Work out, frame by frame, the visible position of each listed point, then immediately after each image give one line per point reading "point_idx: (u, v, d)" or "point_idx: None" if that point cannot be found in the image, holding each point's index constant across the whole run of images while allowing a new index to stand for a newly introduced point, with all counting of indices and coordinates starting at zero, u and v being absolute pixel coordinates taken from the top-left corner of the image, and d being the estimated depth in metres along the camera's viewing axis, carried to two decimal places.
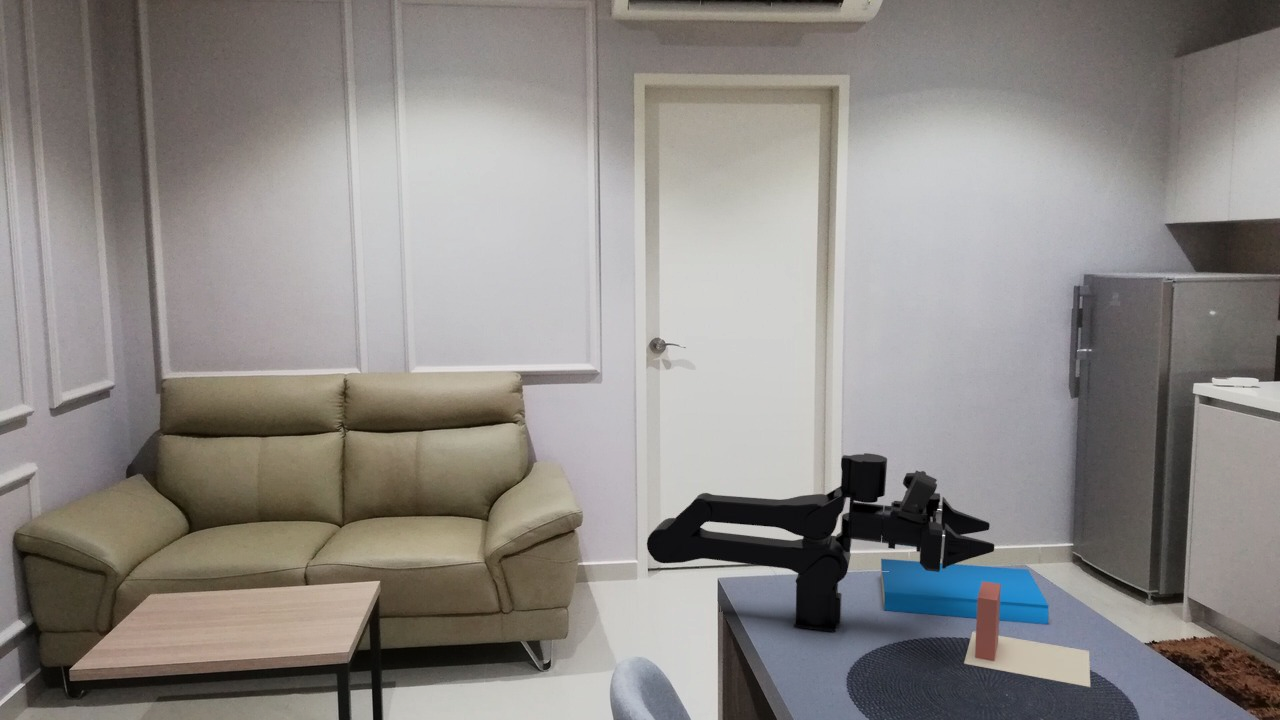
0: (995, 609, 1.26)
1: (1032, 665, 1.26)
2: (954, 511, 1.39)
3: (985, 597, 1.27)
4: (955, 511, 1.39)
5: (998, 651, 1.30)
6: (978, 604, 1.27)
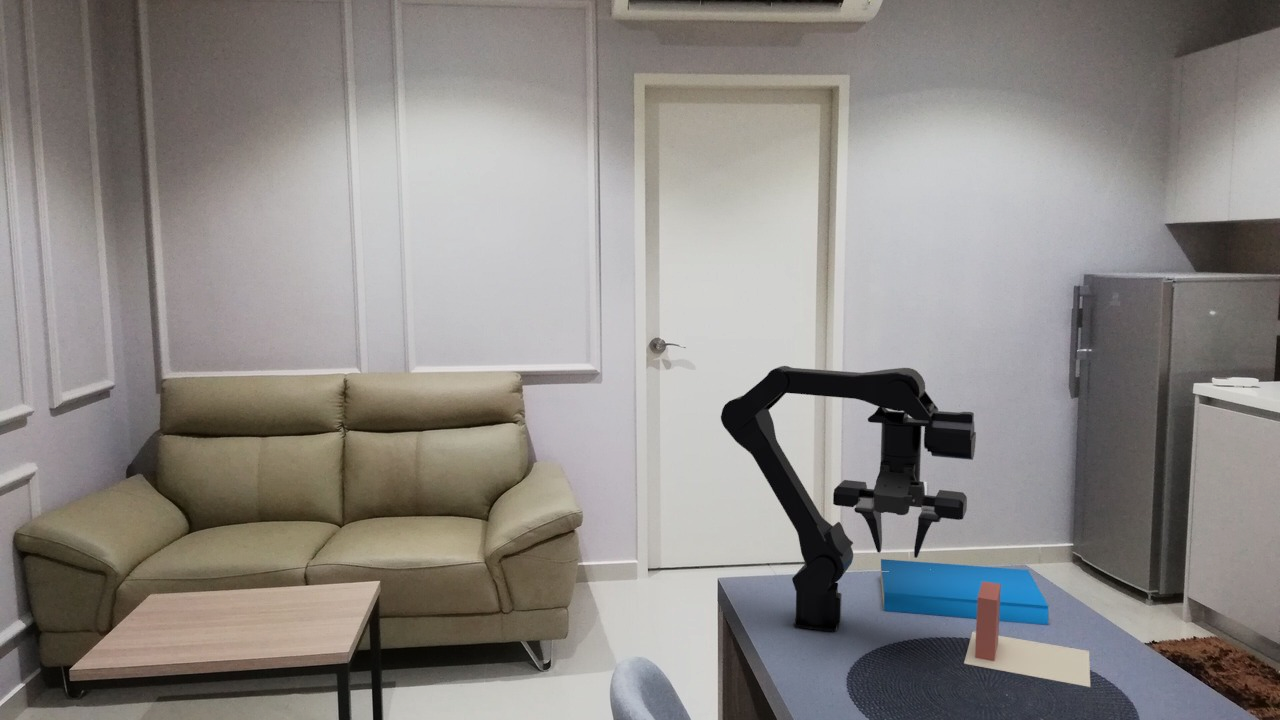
0: (995, 609, 1.26)
1: (1032, 665, 1.26)
2: (921, 527, 1.31)
3: (985, 597, 1.27)
4: (922, 528, 1.31)
5: (998, 651, 1.30)
6: (978, 604, 1.27)
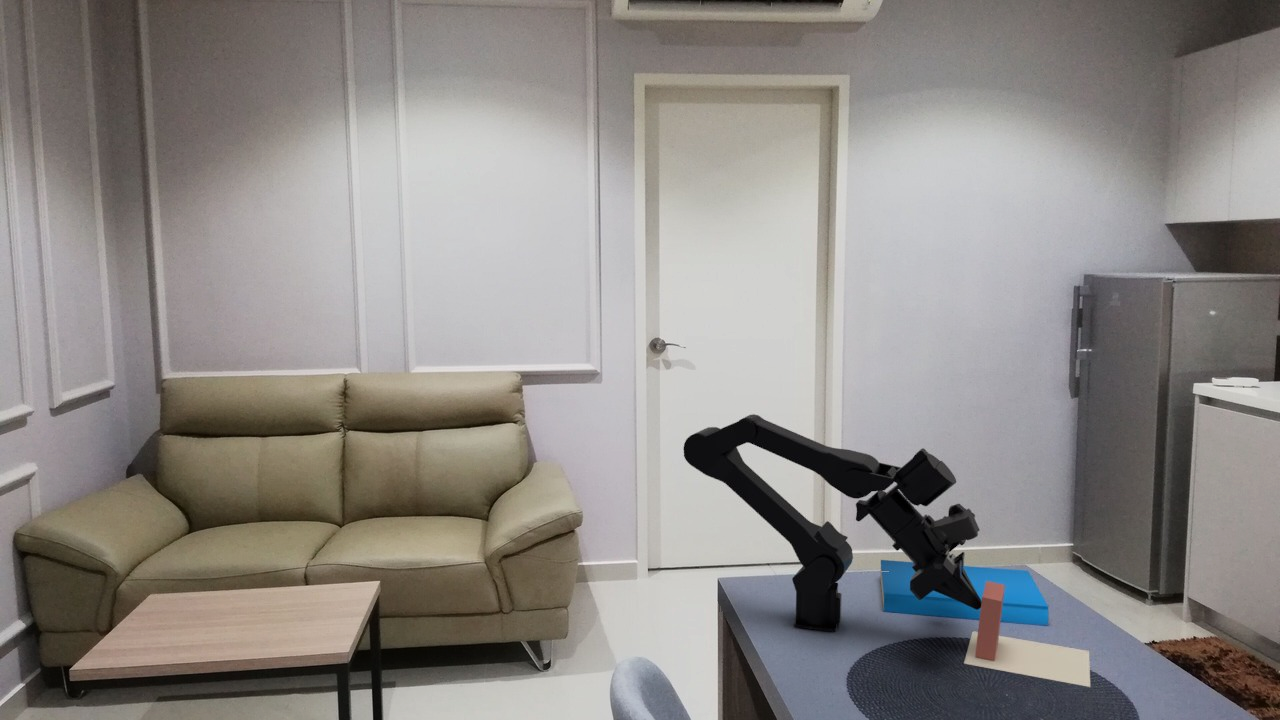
0: (999, 610, 1.26)
1: (1032, 665, 1.26)
2: (963, 571, 1.32)
3: (990, 598, 1.26)
4: (964, 572, 1.32)
5: (998, 651, 1.30)
6: (982, 604, 1.27)
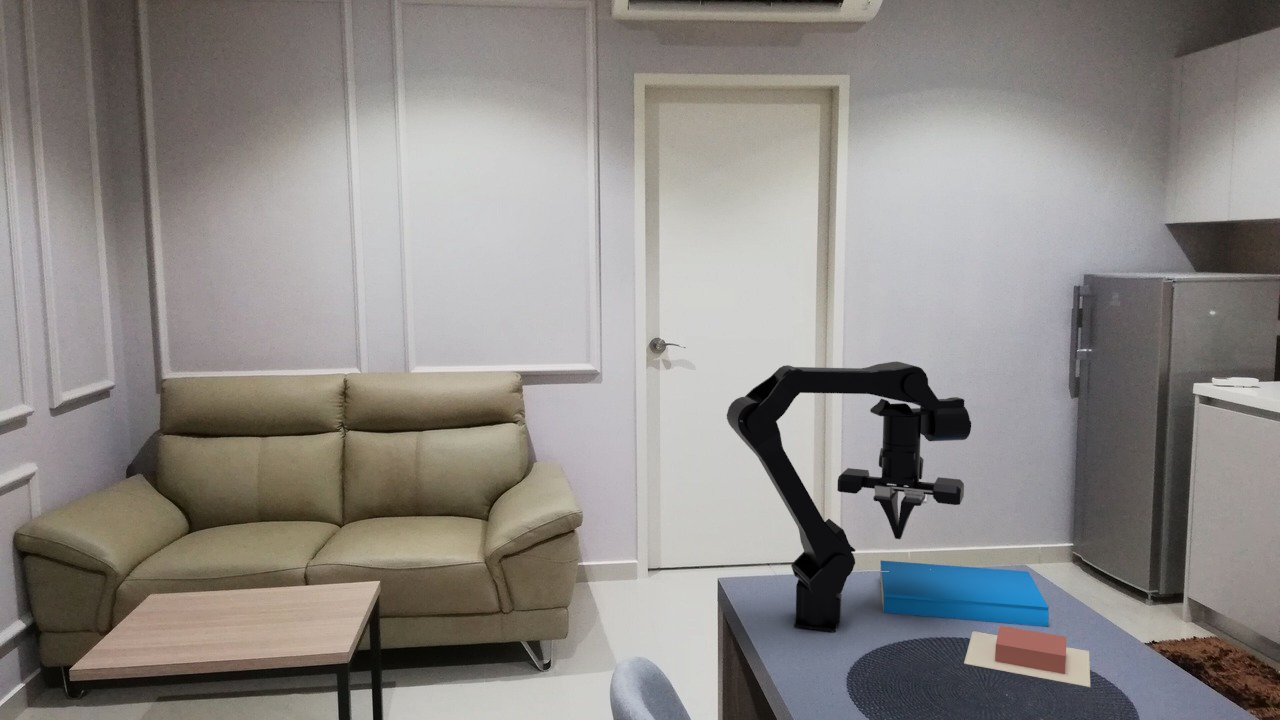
0: (1054, 670, 1.24)
1: None
2: None
3: (1065, 662, 1.23)
4: None
5: None
6: (1057, 655, 1.23)
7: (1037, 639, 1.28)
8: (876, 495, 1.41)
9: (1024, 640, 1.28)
